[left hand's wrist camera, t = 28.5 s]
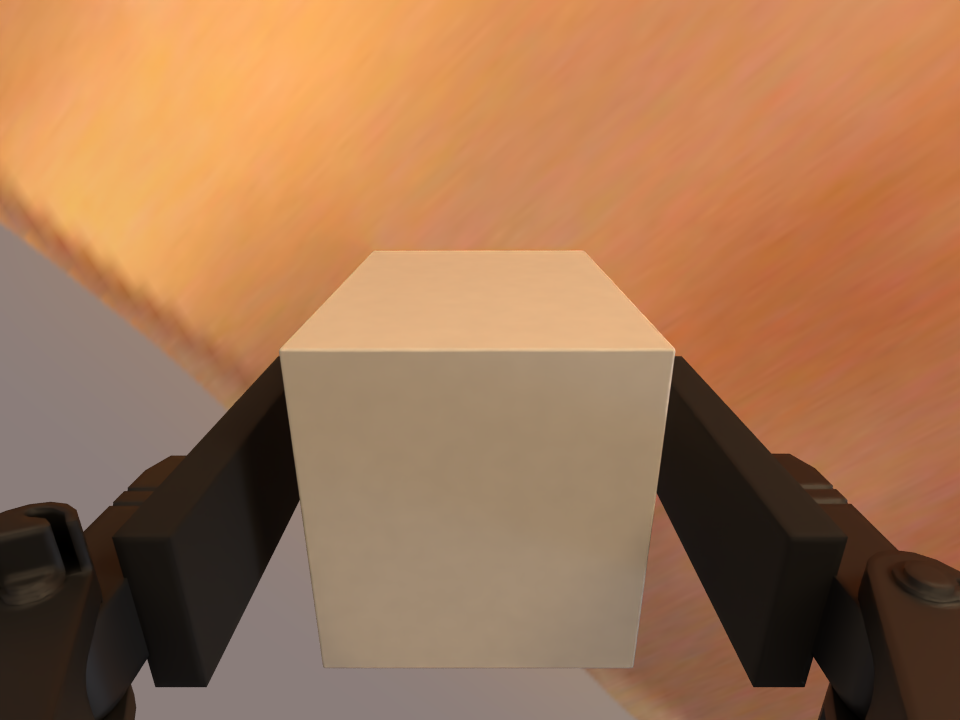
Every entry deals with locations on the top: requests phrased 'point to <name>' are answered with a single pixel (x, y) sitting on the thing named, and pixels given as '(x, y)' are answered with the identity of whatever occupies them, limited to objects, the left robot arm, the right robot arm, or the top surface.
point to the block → (477, 460)
